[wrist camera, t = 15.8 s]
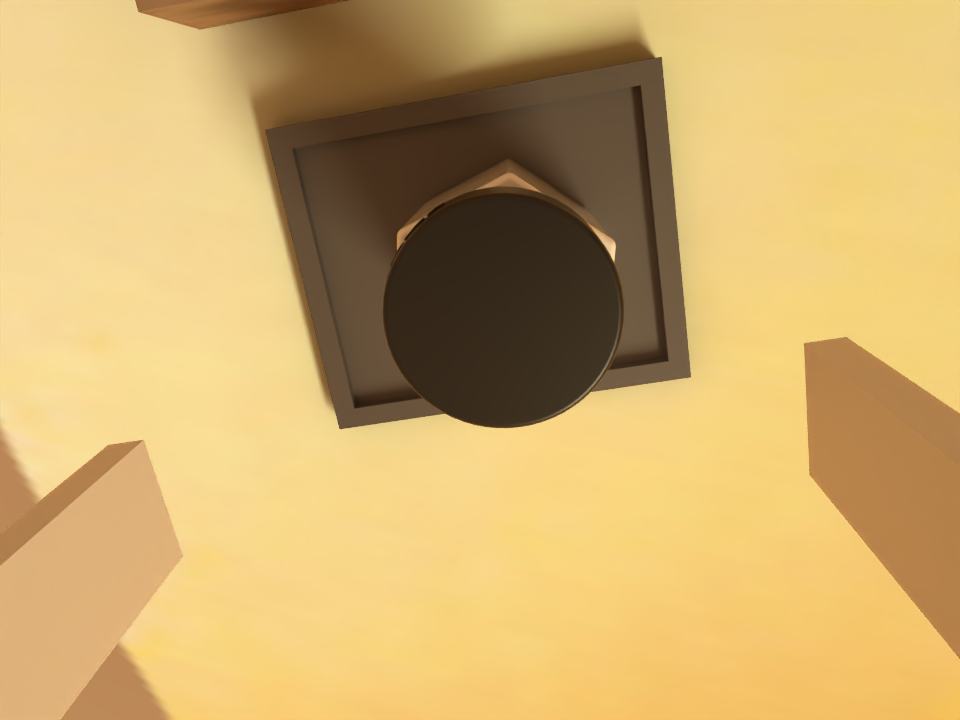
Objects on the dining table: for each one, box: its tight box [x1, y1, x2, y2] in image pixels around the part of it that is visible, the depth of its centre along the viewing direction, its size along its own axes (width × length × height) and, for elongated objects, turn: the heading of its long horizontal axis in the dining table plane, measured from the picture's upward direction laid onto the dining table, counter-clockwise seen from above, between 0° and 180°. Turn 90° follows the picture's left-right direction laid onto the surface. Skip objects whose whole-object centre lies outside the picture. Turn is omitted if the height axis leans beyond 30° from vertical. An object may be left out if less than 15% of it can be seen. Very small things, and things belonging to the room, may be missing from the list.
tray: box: [266, 57, 691, 429], centre depth 36 cm, size 18×15×1 cm
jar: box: [382, 159, 625, 428], centre depth 30 cm, size 9×8×12 cm
